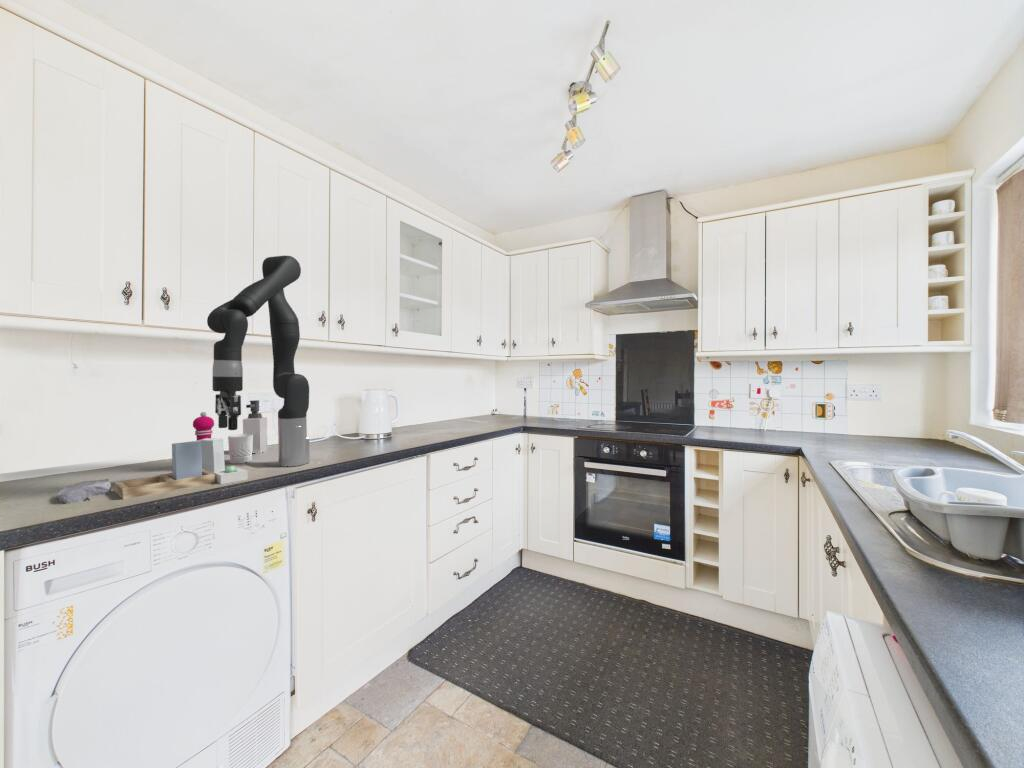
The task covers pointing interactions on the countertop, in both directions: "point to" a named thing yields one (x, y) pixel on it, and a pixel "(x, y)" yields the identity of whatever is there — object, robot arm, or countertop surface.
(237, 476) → the button box
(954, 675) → the countertop surface
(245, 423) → the soap dispenser
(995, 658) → the countertop surface
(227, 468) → the button
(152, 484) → the pallet
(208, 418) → the pepper mill
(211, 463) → the skincare box
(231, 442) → the white cup
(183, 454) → the seated block
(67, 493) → the stone block
